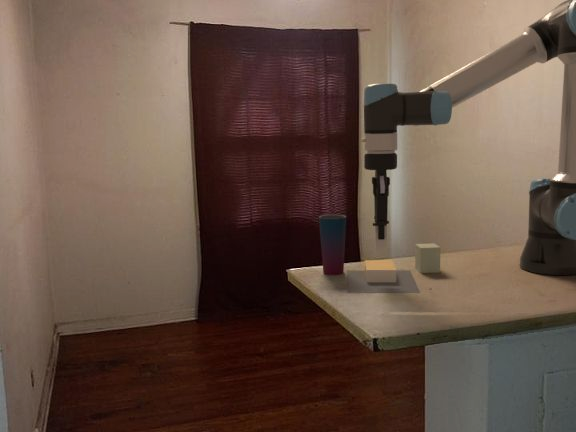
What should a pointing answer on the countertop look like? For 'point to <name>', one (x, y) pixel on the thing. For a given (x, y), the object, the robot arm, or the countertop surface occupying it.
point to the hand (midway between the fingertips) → (380, 251)
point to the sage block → (427, 258)
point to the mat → (381, 283)
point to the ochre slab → (380, 271)
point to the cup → (333, 243)
